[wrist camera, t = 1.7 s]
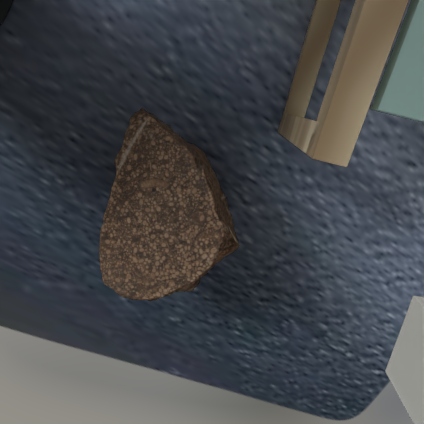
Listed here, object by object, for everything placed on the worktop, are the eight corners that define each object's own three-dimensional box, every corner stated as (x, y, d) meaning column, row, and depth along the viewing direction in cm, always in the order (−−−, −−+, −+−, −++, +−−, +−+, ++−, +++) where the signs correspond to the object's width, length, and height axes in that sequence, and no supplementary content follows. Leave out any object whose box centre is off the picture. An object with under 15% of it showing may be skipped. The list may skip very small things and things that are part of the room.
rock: (97, 106, 22) (214, 100, 16) (195, 135, 31) (297, 138, 25) (79, 285, 24) (182, 340, 18) (178, 267, 32) (272, 301, 26)
